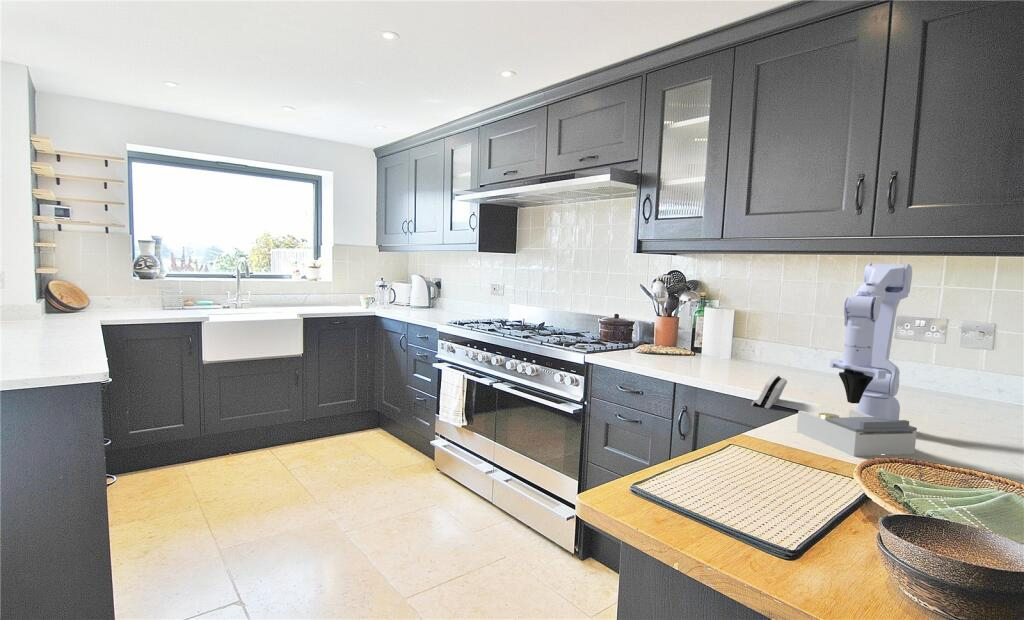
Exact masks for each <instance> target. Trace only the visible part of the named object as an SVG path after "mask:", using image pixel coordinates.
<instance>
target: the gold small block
mask: <svg viewBox="0 0 1024 620" xmlns="http://www.w3.org/2000/svg"><path fill="white" fill-rule="evenodd" d="M818 417H821V418H823V419H825V418H840V415H837V414H835V413H828V412H820V413H818Z"/></svg>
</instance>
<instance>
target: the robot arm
mask: <svg viewBox="0 0 1024 620" xmlns="http://www.w3.org/2000/svg"><path fill="white" fill-rule="evenodd" d="M912 279H913V268H912V265H910V263H904V264H903V263H900V264H899V263H898V264H897V263H872V262H869V263H868V264H867V265H866V266H865V267H864V272H863V284H861V285H860V286H859V287H858V289H857V290H856V291H855V294H853V295H850V296H849V297H846V298H845V301H844V305H843V315H844V321H843V322H844V326H845V334H844V346H843V347H844V348H843V356H842V360H841V359H833V358H832V359H830V361H829V368H834V369H839V370H843V372H842V371H841V372H840V371H839V373H838V376H839V377H840V379H841V382H842V384H843V386H844V391H845V395H846V399H847V400H846V401H847V403H849V404H856V409H855V411H858V412H861V413H864V414H867V415H870V416H873V417H885V418H888V419H891V420H900V411H901V405H900V402H899V400H898V398H896V397H895V396H896V395H897V394H898V392H899V388H900V369H899V367H898V366H897V365H896V364H894V362H892V361H891V360H890V354H891V349H892V348H891V346H892V340H893V337H894V336H893V334H894V330H895V322H896V316H897V311H898V307H899V304H900V301H901V300H904V299H906V298H908V297H909V294H910V291H911V286H912Z"/></svg>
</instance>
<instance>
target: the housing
mask: <svg viewBox="0 0 1024 620" xmlns="http://www.w3.org/2000/svg"><path fill="white" fill-rule="evenodd" d="M848 417H873V416H870V415H867V414H864V413H861V412H858V411H856V409H855V410H854V409H849V411H848ZM796 424H797V425H796V432H797V433H799V434H801V435H804V436H807V437H808V438H811V439H813V440H815V441H818V442H820V443H822V444H825V445H827V446H829V447H831V448H834V449H836V450H838V451H841V452H842V453H846V454H848V455H850V456H851V457H852V456H853V457H872V455H878V456H882V455H881V454H893V455H892V456H899V455H900V456H902V455H901V454H907V455H915V450H916V442H917V430H914V431H874V433H860V432H855V431H852V430H850V429H847V428H844V427H842V426H839V425H836V424H834V423H831V422H828V421H826V420H825V419H823V418H821V417H819V415H818V416H817V415H815V414H812V413H810V412H807V411H805V410H798V413H797V423H796Z"/></svg>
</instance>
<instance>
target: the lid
mask: <svg viewBox="0 0 1024 620" xmlns="http://www.w3.org/2000/svg"><path fill="white" fill-rule="evenodd" d="M825 420H826V421H828V422H831V423H834V424H836V425H839V426H842V427H844V428H847V429H850V430H852V431H855V432H872V431H914V430H916V431H917V430H918V428H917V426H913V425H910V421H909V420H906V419H899V420H891V419H888V418H885V417H849V416H848V417H847V416H846V417H844V416H843V417H839V418H825Z"/></svg>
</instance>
